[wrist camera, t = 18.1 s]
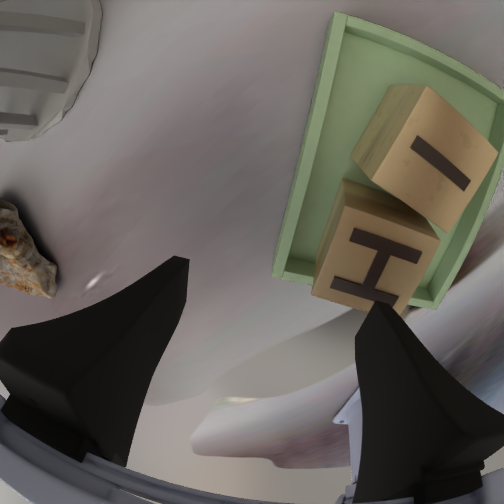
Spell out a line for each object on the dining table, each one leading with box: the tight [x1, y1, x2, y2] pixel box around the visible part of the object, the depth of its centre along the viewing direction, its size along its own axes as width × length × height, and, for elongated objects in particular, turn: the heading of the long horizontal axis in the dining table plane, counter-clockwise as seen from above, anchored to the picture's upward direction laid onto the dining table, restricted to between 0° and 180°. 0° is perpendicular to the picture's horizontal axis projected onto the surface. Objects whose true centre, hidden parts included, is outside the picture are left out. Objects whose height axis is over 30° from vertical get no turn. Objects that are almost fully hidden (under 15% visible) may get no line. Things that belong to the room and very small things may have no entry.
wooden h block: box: [311, 178, 441, 316], centre depth 14 cm, size 4×4×5 cm
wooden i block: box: [350, 85, 498, 234], centre depth 11 cm, size 4×4×5 cm
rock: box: [0, 198, 57, 299], centre depth 19 cm, size 9×6×10 cm
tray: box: [271, 11, 504, 310], centre depth 14 cm, size 11×14×2 cm
